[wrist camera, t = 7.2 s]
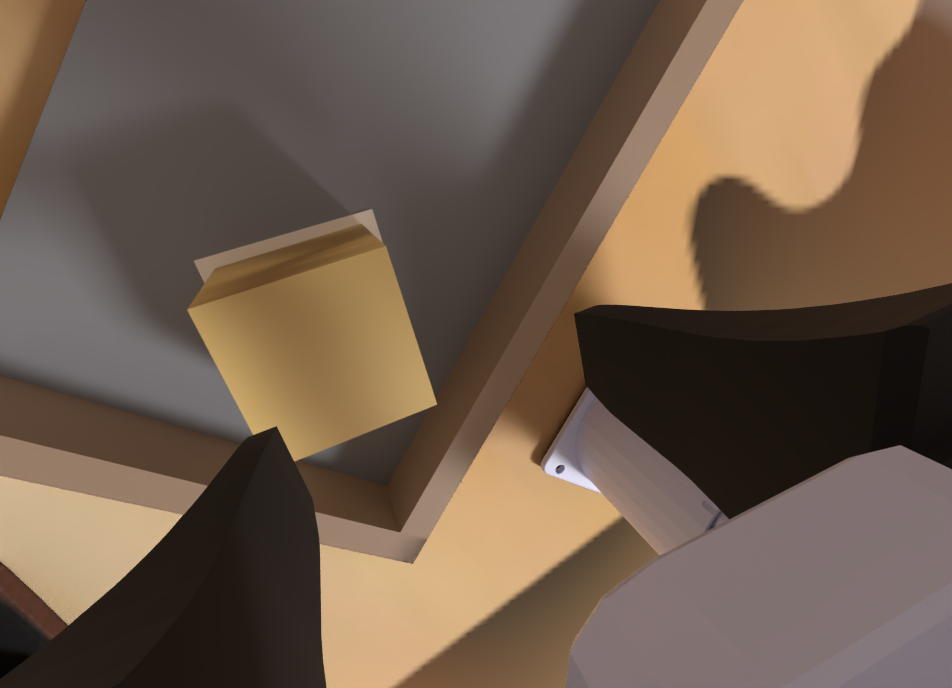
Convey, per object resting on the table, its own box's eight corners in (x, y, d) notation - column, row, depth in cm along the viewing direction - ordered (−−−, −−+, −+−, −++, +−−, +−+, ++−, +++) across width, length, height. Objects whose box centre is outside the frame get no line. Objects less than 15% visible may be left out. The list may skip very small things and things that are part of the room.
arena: (675, 5, 20) (759, -28, 16) (393, 501, 23) (412, 563, 19) (275, -434, 12) (269, -667, 9) (-49, 380, 16) (-145, 444, 12)
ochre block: (361, 223, 17) (386, 245, 13) (403, 348, 19) (437, 404, 15) (214, 268, 16) (186, 309, 12) (276, 395, 18) (272, 470, 14)
